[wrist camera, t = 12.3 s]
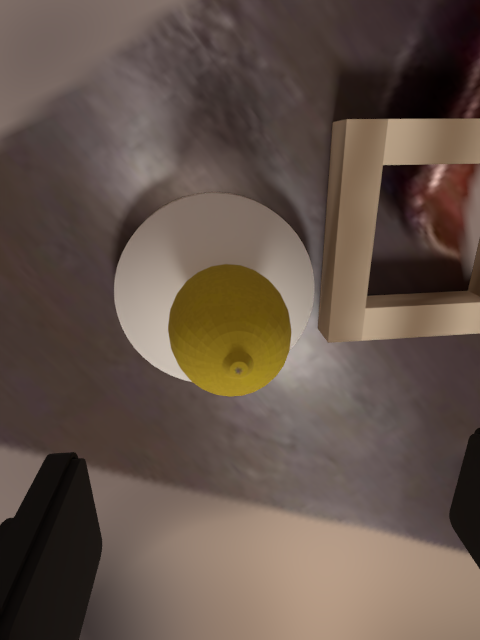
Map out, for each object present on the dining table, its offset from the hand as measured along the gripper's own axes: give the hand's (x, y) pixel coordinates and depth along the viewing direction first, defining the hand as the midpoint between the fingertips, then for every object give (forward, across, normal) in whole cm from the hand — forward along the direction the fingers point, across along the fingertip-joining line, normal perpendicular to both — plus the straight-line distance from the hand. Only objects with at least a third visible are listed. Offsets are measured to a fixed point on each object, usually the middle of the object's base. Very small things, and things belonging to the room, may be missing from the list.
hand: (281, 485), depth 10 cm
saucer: (+15, +1, 0) cm, 15 cm away
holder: (+15, -11, -3) cm, 19 cm away
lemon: (+14, +1, 0) cm, 14 cm away
